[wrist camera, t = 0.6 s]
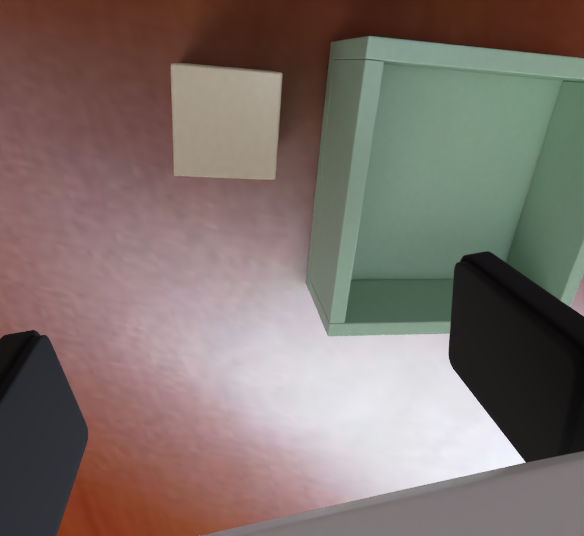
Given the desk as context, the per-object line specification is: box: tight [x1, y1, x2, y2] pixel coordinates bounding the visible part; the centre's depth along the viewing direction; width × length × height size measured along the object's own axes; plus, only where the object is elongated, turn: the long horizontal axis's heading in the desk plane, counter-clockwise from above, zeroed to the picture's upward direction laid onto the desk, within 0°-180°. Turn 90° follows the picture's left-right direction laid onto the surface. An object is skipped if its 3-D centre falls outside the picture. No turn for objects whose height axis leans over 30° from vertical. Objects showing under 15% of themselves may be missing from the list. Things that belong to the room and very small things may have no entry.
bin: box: [306, 36, 584, 336], centre depth 23 cm, size 14×14×6 cm
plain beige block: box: [171, 63, 283, 180], centre depth 21 cm, size 4×4×4 cm
